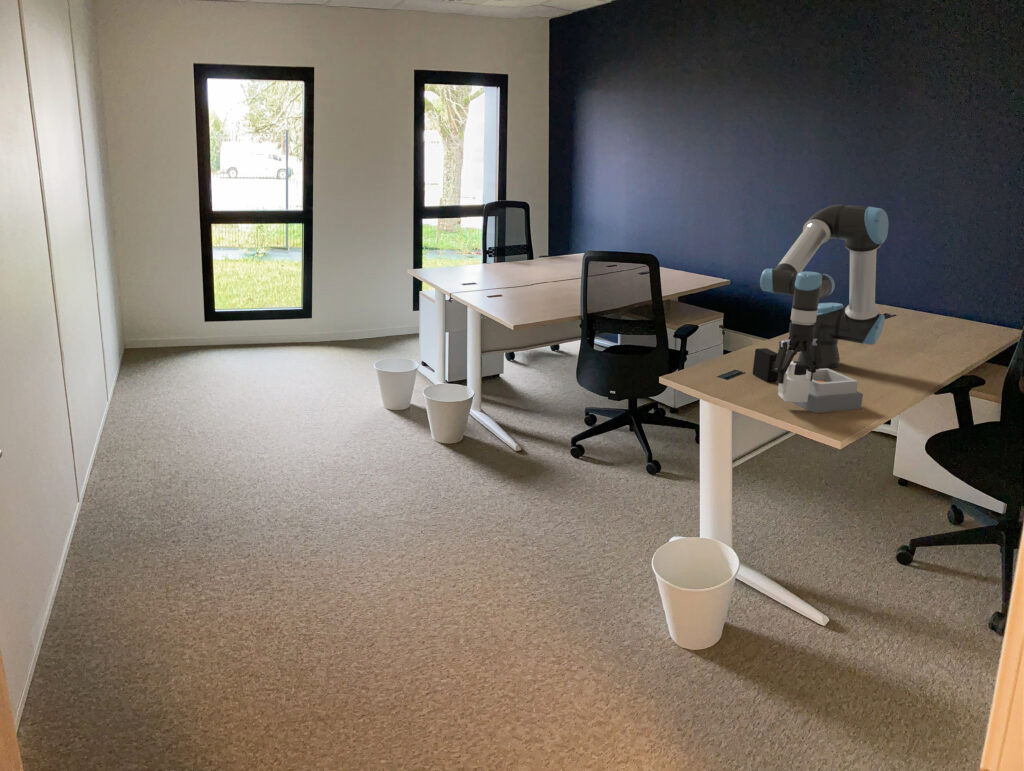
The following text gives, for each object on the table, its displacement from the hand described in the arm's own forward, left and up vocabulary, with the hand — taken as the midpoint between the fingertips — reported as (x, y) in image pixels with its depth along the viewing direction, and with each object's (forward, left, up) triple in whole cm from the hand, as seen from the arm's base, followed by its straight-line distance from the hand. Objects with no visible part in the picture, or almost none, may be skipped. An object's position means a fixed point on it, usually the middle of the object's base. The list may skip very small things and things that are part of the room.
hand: (793, 391), depth 265 cm
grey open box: (-14, -4, -6) cm, 16 cm away
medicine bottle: (0, 0, -2) cm, 2 cm away
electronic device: (-12, -32, -6) cm, 35 cm away
